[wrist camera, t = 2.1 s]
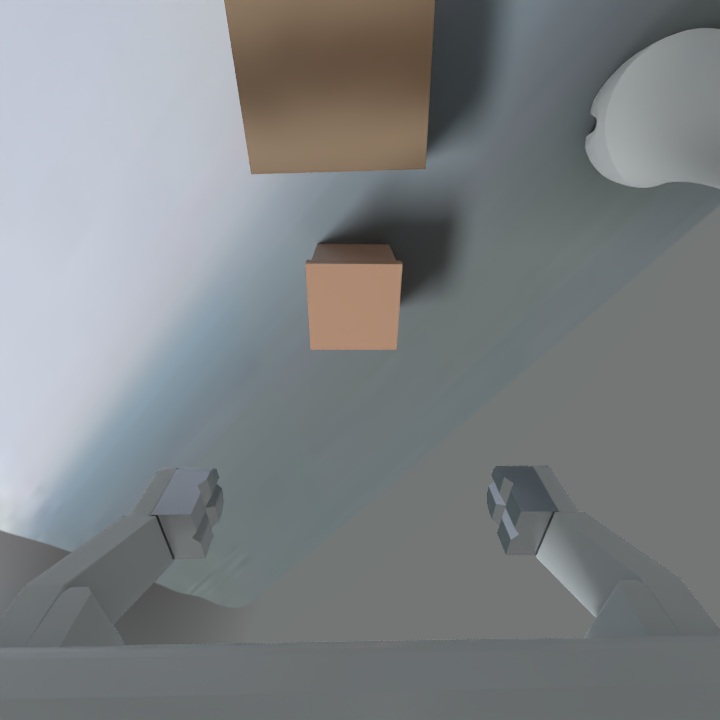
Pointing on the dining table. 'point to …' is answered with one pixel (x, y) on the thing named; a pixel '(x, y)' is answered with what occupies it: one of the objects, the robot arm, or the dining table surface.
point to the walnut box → (333, 83)
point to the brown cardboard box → (353, 297)
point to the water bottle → (661, 114)
